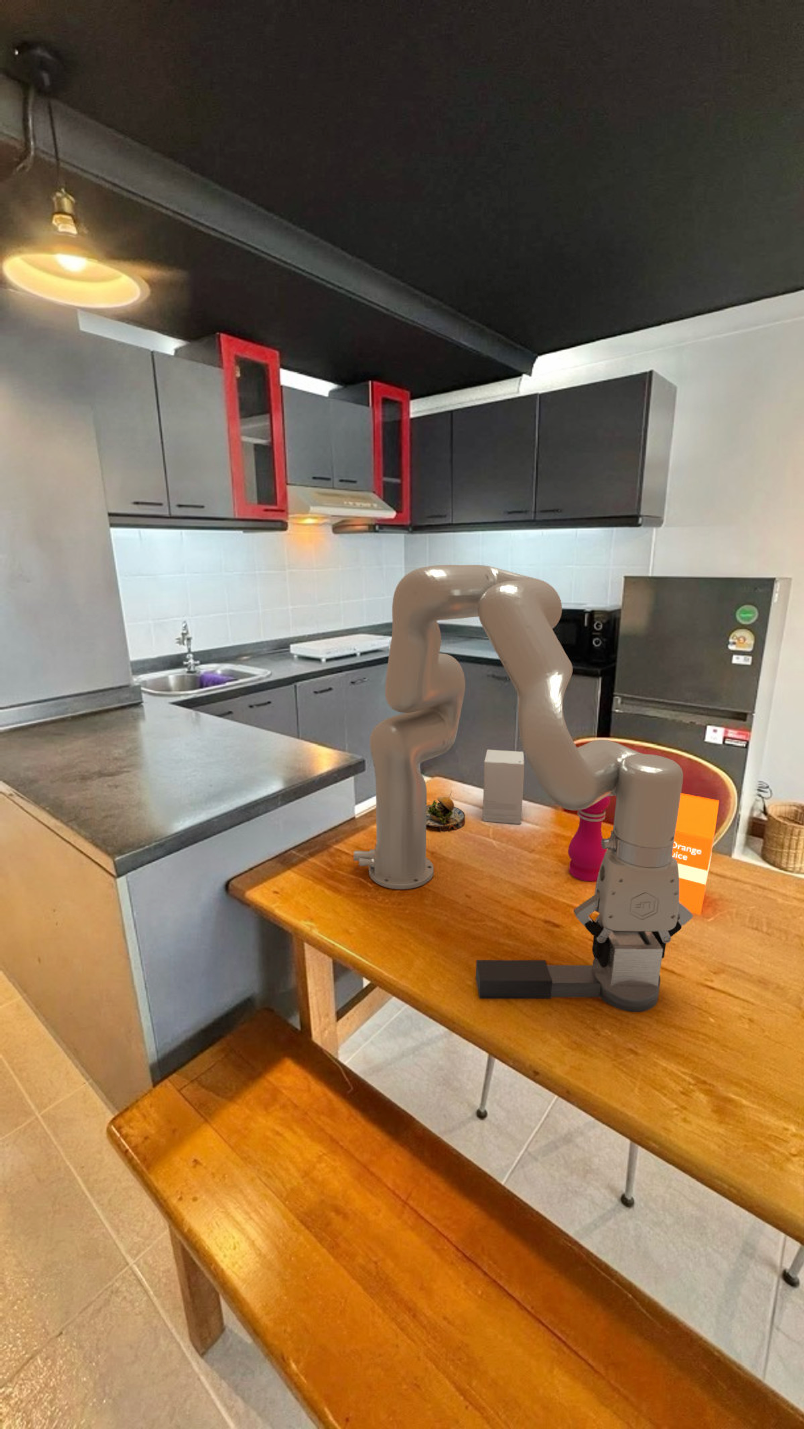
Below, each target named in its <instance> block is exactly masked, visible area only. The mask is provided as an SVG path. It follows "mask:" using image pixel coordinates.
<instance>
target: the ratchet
mask: <svg viewBox="0 0 804 1429" xmlns="http://www.w3.org/2000/svg"><path fill="white" fill-rule="evenodd" d="M613 934H614V936H615V937H616V939H617V941H618V943H619V945H645V943H644V942H643V940H642V938H641V937H640V935H639V934H638V932H613ZM475 981H476V988H477V992H478V998H479V999H481V1000H482V999H483V1000H484V999H489V1000H495V999H497V1000H500V999H501V1000H502V999H503V1000H505V999H506V1000H509V999H510V1000H511V999H512V1000H514V999H515V1000H517V999H518V1000H520V999H521V1000H522V999H523V1000H524V999H525V1000H529V999H530V1000H535V999H536V1000H537V999H538V1000H539V999H540V1000H545V999H546V1000H551V999H552V998H599V999H600V1000H601V1001H603V1002H604V1003H606V1004H607V1005H609V1006H611V1007H613V1008H615V1009H618V1010H621V1011H623V1012H630V1013H642V1012H646V1011H650V1010H652V1009H653V1008H654V1007H655V1006H656V1005H657V1003H658V1001H659V1000H658V999H659V994H660V987H661V975H660V973H659V980H658V987H611V986H610V984H609V982H608V980H607V978H606V976H605V973H604V971H603V969H602V967H601V966H600V964H599V962H598V960H597V958H593V960H592V964H589V965H585V964H584V965H581V964H580V965H578V964H576V965H575V964H574V965H573V964H571V965H570V964H569V965H567V964H566V965H565V964H564V965H562V964H561V965H558V964H557V965H555V964H554V965H553V964H547V961H546V960H545V959H539V960H537V959H536V960H535V959H533V960H532V959H531V960H527V959H526V960H525V959H523V960H521V959H519V960H518V959H513V960H512V959H505V960H504V959H491V960H490V959H485V960H484V959H481V960H480V959H476V963H475Z"/></svg>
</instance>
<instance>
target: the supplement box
mask: <svg viewBox="0 0 804 1429" xmlns="http://www.w3.org/2000/svg"><path fill="white" fill-rule="evenodd" d="M524 755H525V753H524V751H517V750H516V751H515V750H501V749H500V750H498V749H487V750H486V754H485V758H484V762H483V792H482V793H483V794H482V795H483V797H482V799H483V801H482V821H483V822H491V823H501V824H503V823H504V824H512V825H513V824H516V825H521V824H522V813H523V796H524V795H523V794H524V777H525V775H524V773H525V758H524V757H525V756H524Z"/></svg>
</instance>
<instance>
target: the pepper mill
mask: <svg viewBox="0 0 804 1429" xmlns="http://www.w3.org/2000/svg"><path fill="white" fill-rule="evenodd" d="M610 802H611V796H607V797H604V798H603V799H601V800H600V801H598V802H597V803H595V804H593V805H592V806H590V807H588V808H586V809H582V810H577V816H578V817H579V823H578V828H577V830H576V831H575V833H574V836H573V837H572V839H571V840H570V843H569V845H568V849H567V853H568V857H569V859H570V861H569V863H568V864H569V867H568V871H569V874H571V876H572V877H574V878H575V879H578V880H580V881H584V882H597V878H598V874H599V870H600V867H601V864H602V861H603V858H604V855H605V853H606V851H607V850H608V849H603V848H602V845H601V841H602V839H604V838H603V835H602V824H603V821H604V820H605V818H606V813H607V812H606V809H607V808H608V807H609V805H610Z"/></svg>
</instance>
